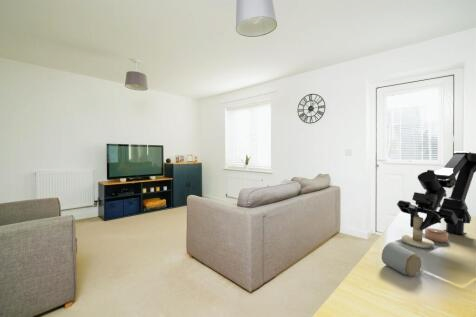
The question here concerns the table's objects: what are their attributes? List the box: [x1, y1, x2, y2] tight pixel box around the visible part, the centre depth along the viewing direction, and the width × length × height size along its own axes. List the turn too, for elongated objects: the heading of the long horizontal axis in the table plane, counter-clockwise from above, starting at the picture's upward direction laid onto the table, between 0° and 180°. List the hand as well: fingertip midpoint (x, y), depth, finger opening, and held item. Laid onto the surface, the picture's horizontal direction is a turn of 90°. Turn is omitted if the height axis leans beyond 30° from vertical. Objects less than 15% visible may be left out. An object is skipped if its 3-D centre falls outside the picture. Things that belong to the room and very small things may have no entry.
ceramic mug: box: [381, 242, 422, 277], centre depth 72 cm, size 11×8×8 cm
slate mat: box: [396, 232, 453, 253], centre depth 92 cm, size 20×11×1 cm, turn 117°
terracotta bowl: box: [424, 227, 449, 243], centre depth 93 cm, size 7×7×4 cm
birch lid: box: [401, 216, 434, 248], centre depth 89 cm, size 10×10×10 cm
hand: (415, 228), depth 89 cm, fingers closed on birch lid, 3 cm apart
